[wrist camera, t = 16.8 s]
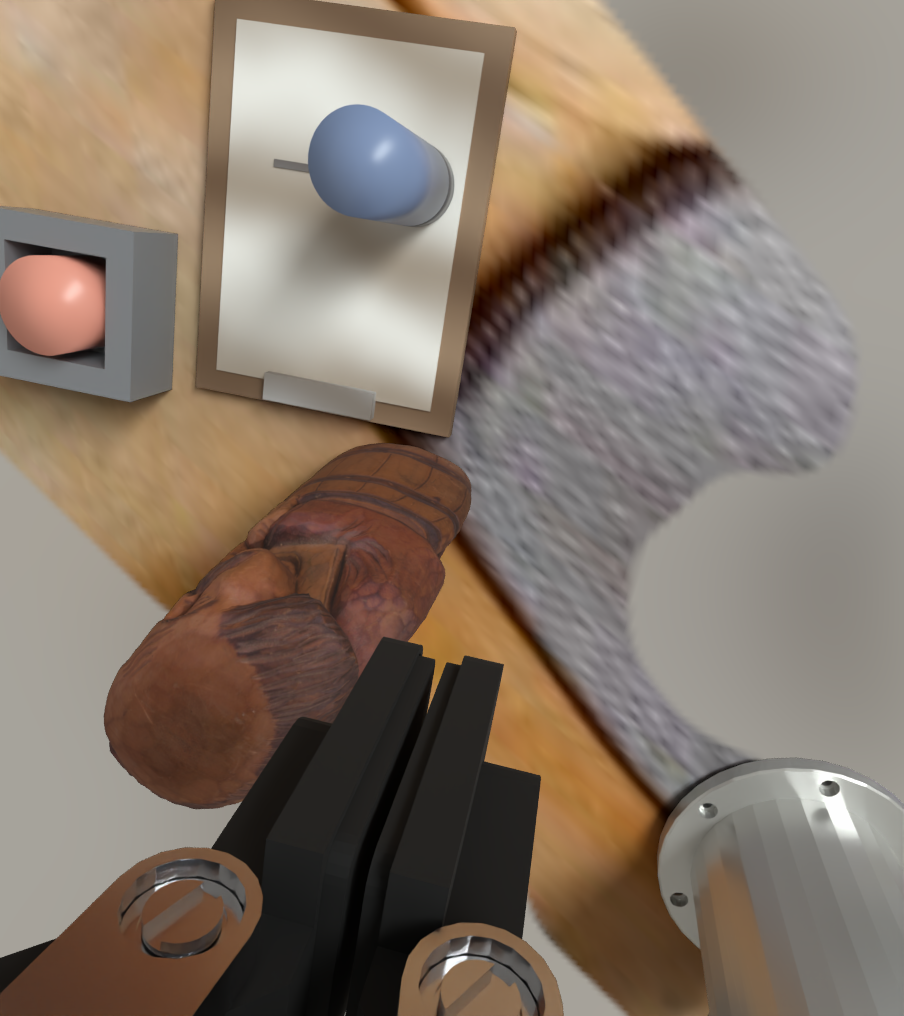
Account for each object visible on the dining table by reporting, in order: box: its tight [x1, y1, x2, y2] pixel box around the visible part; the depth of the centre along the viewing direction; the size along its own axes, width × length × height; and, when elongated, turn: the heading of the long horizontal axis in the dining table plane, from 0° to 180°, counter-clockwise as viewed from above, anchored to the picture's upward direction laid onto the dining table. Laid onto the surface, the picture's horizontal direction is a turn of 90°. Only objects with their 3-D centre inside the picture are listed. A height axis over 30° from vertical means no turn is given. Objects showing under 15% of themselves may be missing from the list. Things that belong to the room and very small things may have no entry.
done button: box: [0, 255, 106, 356], centre depth 34 cm, size 4×4×4 cm
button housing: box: [0, 206, 178, 402], centre depth 35 cm, size 7×7×4 cm
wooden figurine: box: [104, 443, 471, 809], centre depth 29 cm, size 12×6×18 cm, turn 135°
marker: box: [308, 104, 454, 227], centre depth 28 cm, size 3×3×8 cm
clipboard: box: [196, 0, 517, 437], centre depth 33 cm, size 16×12×1 cm
